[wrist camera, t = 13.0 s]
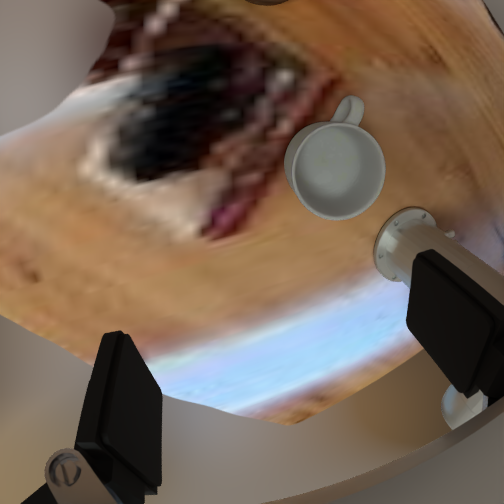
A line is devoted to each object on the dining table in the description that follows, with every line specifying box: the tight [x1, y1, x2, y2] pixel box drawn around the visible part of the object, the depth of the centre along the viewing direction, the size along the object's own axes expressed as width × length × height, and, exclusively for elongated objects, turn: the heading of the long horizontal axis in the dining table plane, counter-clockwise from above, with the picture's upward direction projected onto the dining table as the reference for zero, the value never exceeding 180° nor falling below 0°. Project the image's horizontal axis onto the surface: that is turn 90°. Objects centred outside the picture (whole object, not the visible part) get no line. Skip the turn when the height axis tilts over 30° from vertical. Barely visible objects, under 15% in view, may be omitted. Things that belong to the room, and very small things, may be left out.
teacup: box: [284, 95, 386, 220], centre depth 34 cm, size 14×11×8 cm
